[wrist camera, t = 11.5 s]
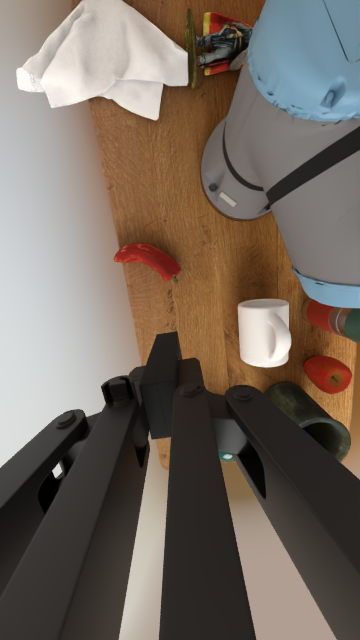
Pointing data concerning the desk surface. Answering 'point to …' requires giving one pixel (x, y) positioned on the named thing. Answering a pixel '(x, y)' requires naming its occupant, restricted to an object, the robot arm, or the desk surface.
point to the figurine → (216, 44)
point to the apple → (328, 374)
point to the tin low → (321, 315)
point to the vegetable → (149, 259)
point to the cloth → (106, 59)
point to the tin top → (349, 323)
